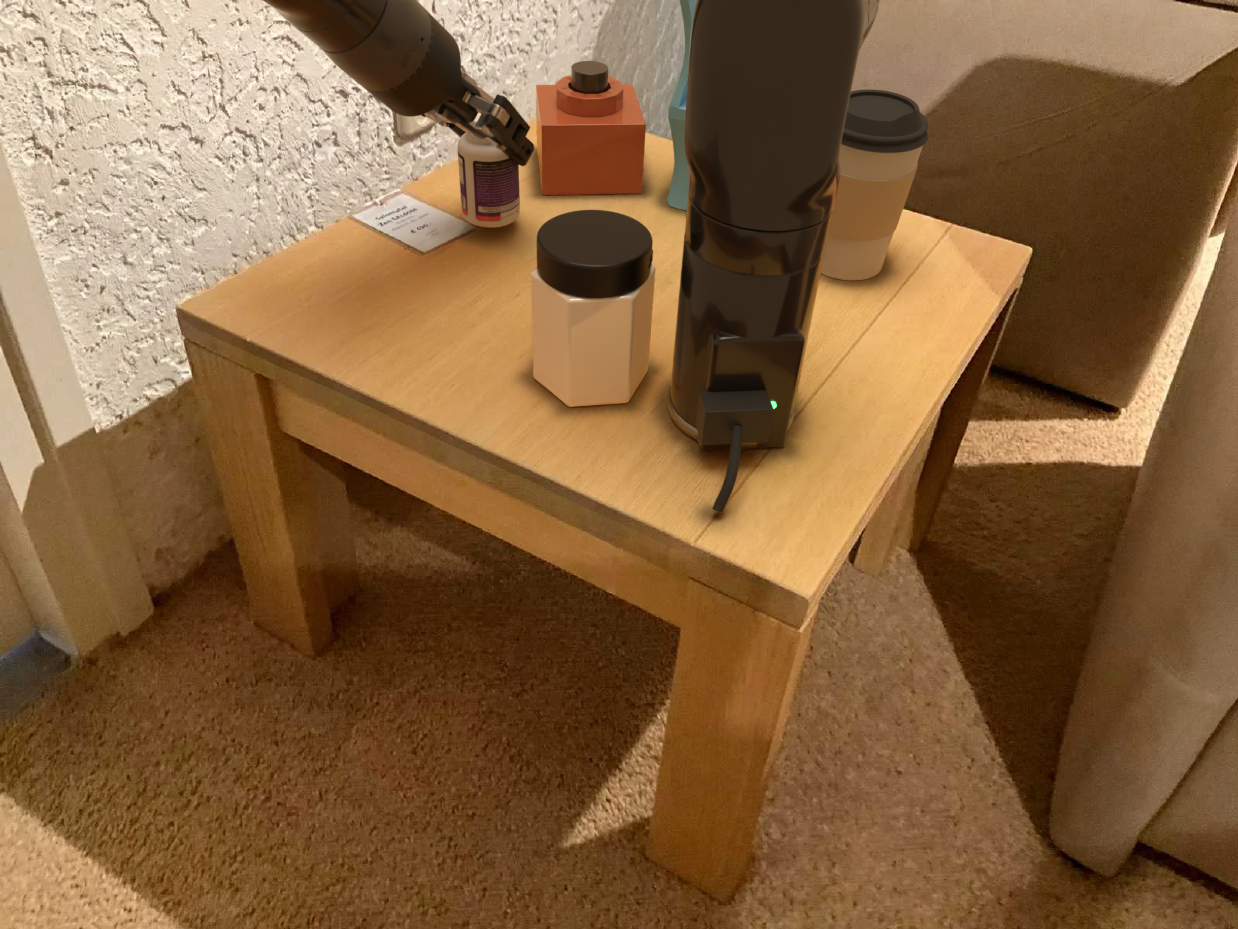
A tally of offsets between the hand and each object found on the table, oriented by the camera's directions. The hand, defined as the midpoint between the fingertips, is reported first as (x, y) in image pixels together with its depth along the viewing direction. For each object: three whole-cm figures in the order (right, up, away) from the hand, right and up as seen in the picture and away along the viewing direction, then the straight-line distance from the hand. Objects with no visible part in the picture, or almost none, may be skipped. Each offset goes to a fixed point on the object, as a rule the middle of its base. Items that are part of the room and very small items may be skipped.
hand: (501, 145), depth 90 cm
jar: (+8, -22, -13) cm, 27 cm away
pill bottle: (-1, -6, +3) cm, 7 cm away
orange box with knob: (+7, +1, +13) cm, 15 cm away
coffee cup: (+31, -10, +2) cm, 33 cm away
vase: (+20, -2, +10) cm, 23 cm away
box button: (+8, +8, +7) cm, 13 cm away
